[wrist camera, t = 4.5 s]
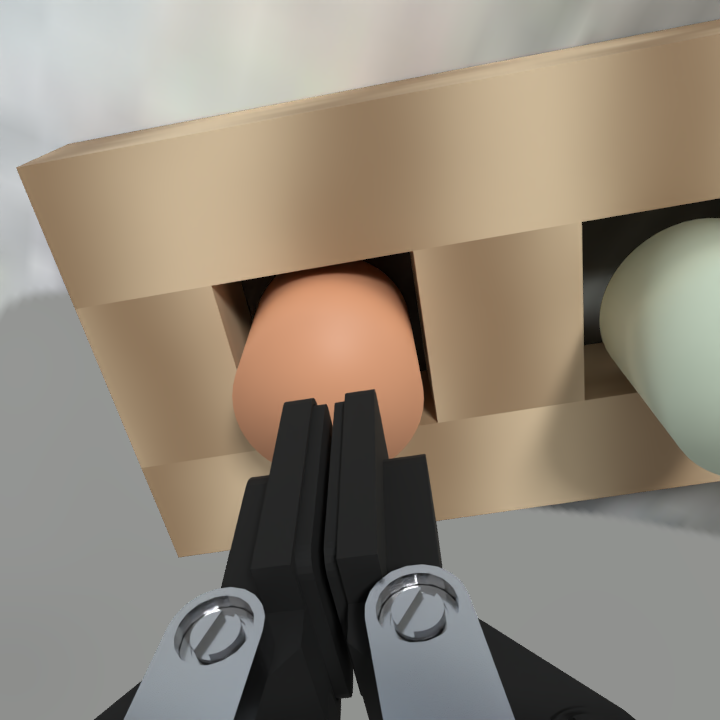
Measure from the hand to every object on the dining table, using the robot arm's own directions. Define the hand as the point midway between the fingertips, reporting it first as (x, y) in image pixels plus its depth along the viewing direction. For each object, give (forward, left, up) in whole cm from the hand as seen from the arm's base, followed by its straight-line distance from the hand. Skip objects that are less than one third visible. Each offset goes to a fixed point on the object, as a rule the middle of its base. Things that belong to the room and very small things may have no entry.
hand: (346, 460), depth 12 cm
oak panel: (-8, +1, -8) cm, 12 cm away
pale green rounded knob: (-8, +1, -5) cm, 10 cm away
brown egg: (+1, 0, -7) cm, 7 cm away
